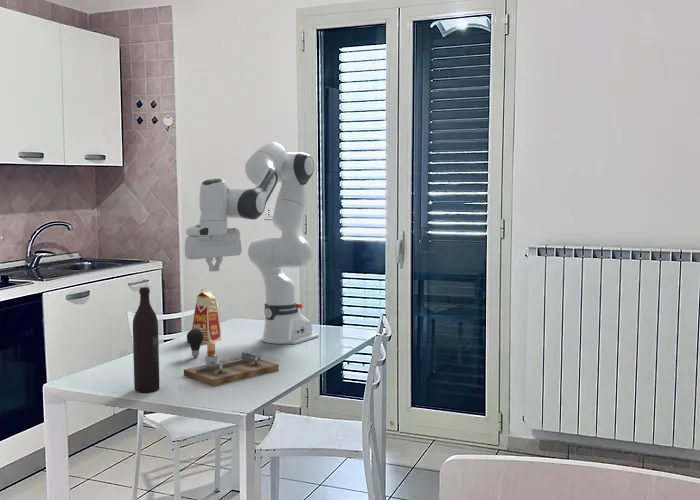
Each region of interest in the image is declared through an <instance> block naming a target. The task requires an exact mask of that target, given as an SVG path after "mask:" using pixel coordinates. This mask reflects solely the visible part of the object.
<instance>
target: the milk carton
mask: <svg viewBox="0 0 700 500" xmlns="http://www.w3.org/2000/svg"><path fill="white" fill-rule="evenodd" d="M220 321H221V320H220V313H219V307H218V302H217V297H215V296H214V295H213V294H212V290H206V289H201V292H200V293H198V295H196V303H195V308H194V313H193V320H192V326H191V330H192V329H199V330H200V331H201V332H202V333H203V341H202V343H201V344H207V343H209V342H214V343H216V342H218V341H220V340H222V329H221V323H220Z"/></svg>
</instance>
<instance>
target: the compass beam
mask: <svg viewBox="0 0 700 500" xmlns="http://www.w3.org/2000/svg"><path fill="white" fill-rule="evenodd" d="M241 357H242V359H239V360H235V361H230V362H226V363H223V366H222V368H225V367H230V366H234V365H239V364H243V363H247V362H252V361H255V364H257V360H260V359H261V356H260V355H258V354H256V353H252V352H250V351H242V352H241ZM216 369H220V366H212V367H210V366H207V367H203V368H198V369H196V373H197V374H199V373H203V372H208V371H212V370H216Z"/></svg>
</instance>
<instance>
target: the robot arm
mask: <svg viewBox="0 0 700 500" xmlns="http://www.w3.org/2000/svg"><path fill="white" fill-rule="evenodd" d="M244 167H245V168H244V170H245V171H244V172H245V174H246V177H247V178H248V180H249V181H250V182H251V183H252V184H254V185H255V187H253V188H246V189H245V188H244V189H242V188H241V189H236V188H231V187H229V186H227V185H226V183H225V180H224V179H222V178H213V179H212V178H211V179H210V178H209V179H206V180H204V181H202V182H201V183H200V188H199V202H198V203H199V210H200V217H199V223H197V224H195V225H193V226H190V227H188V228H186V230H185V233H186V234H185V235H186V236H187V237H186V239H185V241H184V257H185V258H186V259H187V260H201V259H202V260H203V259H204V260H205V262H206V264H207V265H208V271H209V272H212V273H213V272H219V271H220V266H221V264H222V263H223V257H224V258H225V257H235V256H237V257H238V256H240V255H241V254H242V252H243V250H242V249H243V248H242V241H241V232H240V230H239V229H237V228H236V227H229V228H228V218H231V219H246V220H253V221H254V220H257V219H259V218H260V217H261V216H262V215H263V213H264V211H265V209H266V205H267V202H268V201H269V199H270V197H271V195H272V194H273V192H274V190H275V188H276V187H277V184H278V183H280V185H281V186H280V188H279V191H278V193H277V197H276V202H275V205H274V211H273V214H272V223H273V225H274V226H275V228H277V229H278V230H279V231H281V235H280V237H261V238H256V239H253V240H252V241H251V242H249V246H248V248H247V254H248V255H247V256H248V258H249V260H250V262H251V263H252V264H253V265H254V266H256V268H257V269H258V271H259V272H260V275H261V277H262V279H263V283H264V291H265V292H264V293H265V303H264V316H265V317H264V318H265V319H264V327H263V332H262V337H261V341H262V342H264V343H268V344H277V345H278V344H279V345H280V344H283V345H284V344H291V345H292V344H294V345H296V344H300V343H304V342H306V341H309V340H314V339H315V338H318V337H319V334H318V333H317V332H315V331H313V326H312V323H311V320H309V318H307V317H305V316H304V315H303V314H302V313H300V311H299V309H300V310H302V309H303V303H299V302H297V303H296V295H295V293H296V292H295V291H296V285H295V282H294V281H293V280H292V278H290V277H289V276H287V275H286V274H285V272H284V270H283V268H289V269H290V268H291V269H296V268H298V269H299V268H303V267H307V266H308V265H309V264H310V263H311V261H312V258H313V247H312V246H311V245H310V243H309V241H308V240H307V239H306V238H305V237H304V235H303V231H302V223H303V215H304V210H305V204H306V197H307V188H306V184H307V183H308V182H309V180H310V179H311V177H312V176H313V173H314V170H315V163H314V160H313V158H312V156H311V155H310V154H309V153H305V152H302V151H300V152H288V151H287V152H286V150H285V148H284V147H283V145H281V144H280V143H278V142H268V143H266V144H264V145H262V146H261V147H260V148H258V149H257V150H255V152H254V153H253V154H252V155H251V156H250V157H249V158H248V159H247V161H246V162H245V166H244ZM214 259H215V264H214V263H213V261H214Z"/></svg>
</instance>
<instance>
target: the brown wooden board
mask: <svg viewBox="0 0 700 500" xmlns="http://www.w3.org/2000/svg"><path fill="white" fill-rule="evenodd" d="M239 359H242V356H240V357H236V358H232V359H231V358H230V359H226V360H222V361H219V362H220V363H226V362H230V361H235V360H239ZM203 367H207V365H206V364H202V365H200V366H195V367H189V368H185V369H183V377H184V378H185V377H186V378H189V379H191V380H194V381H197V382H199V383H202V384H206V385H208V386H211V387H216V386H221V385H225V384H228V383H233V382H237V381H241V380H245V379H250V378H254V377H258V376H261V375H266V374H271V373H273V372H278V371H279V369H280V368H279V363H275V362H272V361H268V360H266V359H265V360H264V359H261V358H260V360H257V364H255V361H252V362H247V363H243V364H239V365H234V366H230V367H225V368H222V372H220V369H216V370H212V371H208V372H203V373H199V374H197V373H196V369H198V368H203Z"/></svg>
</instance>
